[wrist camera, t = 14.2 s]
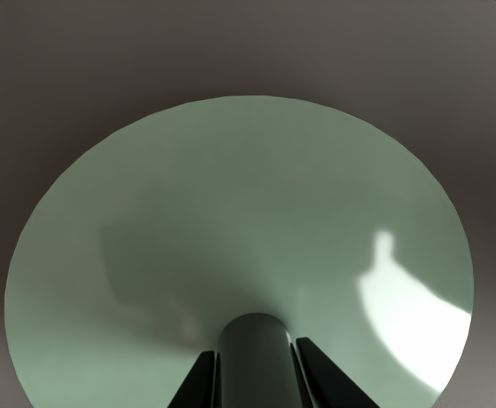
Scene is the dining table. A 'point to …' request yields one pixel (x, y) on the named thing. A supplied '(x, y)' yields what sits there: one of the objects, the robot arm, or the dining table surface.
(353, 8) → the dining table surface
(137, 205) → the lid
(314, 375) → the robot arm
